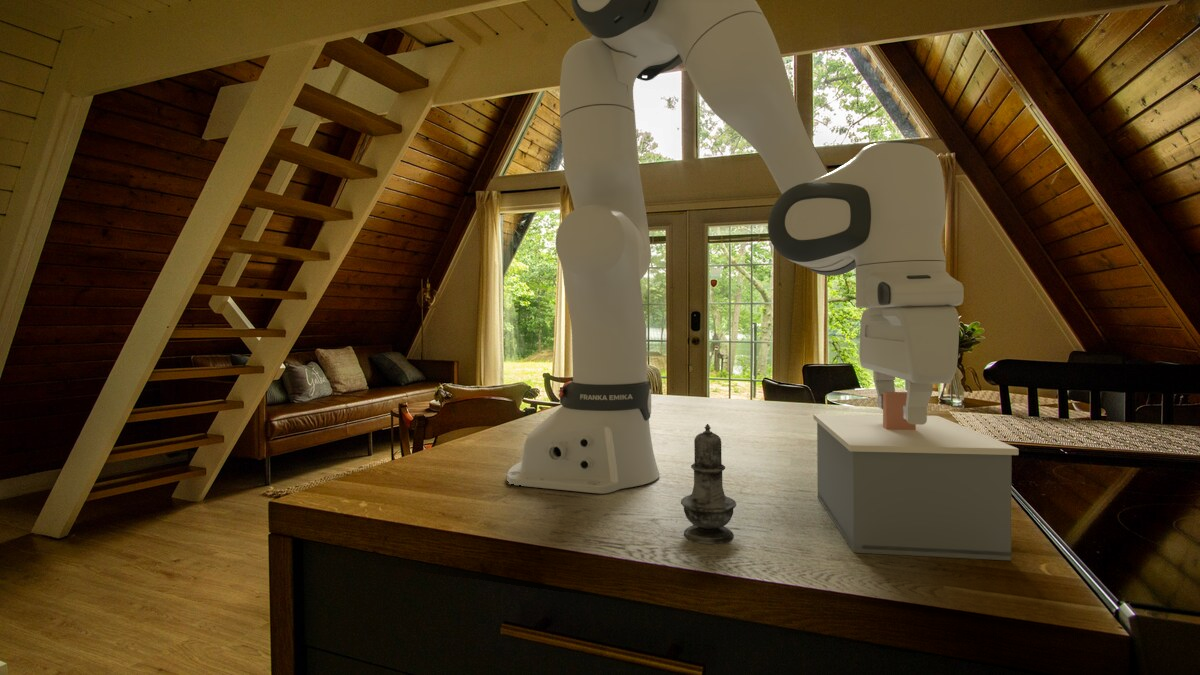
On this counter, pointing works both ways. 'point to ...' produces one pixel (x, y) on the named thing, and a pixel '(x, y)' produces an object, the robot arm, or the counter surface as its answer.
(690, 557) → the counter surface
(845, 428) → the lid
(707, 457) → the salt shaker
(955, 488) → the box
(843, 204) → the robot arm
